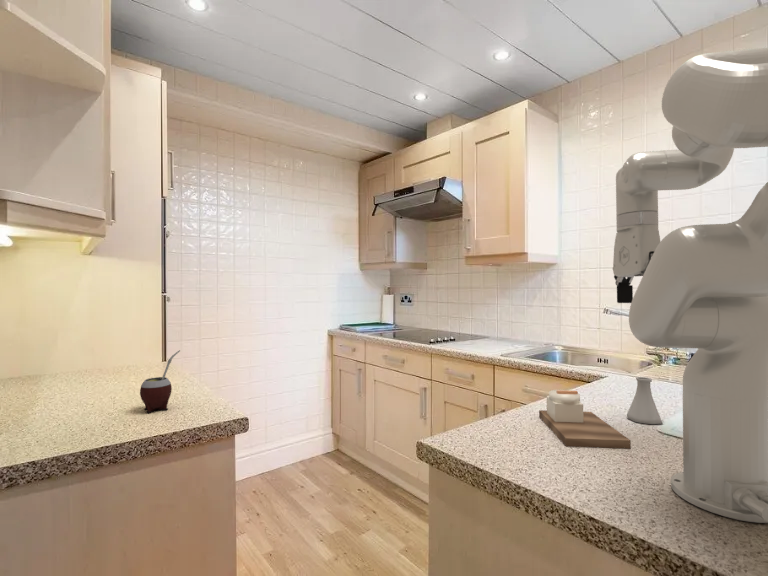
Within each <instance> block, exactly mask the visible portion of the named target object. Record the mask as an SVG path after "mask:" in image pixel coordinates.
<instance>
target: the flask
mask: <svg viewBox="0 0 768 576" xmlns="http://www.w3.org/2000/svg"><path fill="white" fill-rule="evenodd" d="M635 380H636V384H637V386H636V390H635V395H634V396H633V398H632V401H631V404H630V406H629V409H628V411H627V413H626V418H627V419H628V420H630V421H633V422H635V423H639V424H640V423H641V424H647V425H648V424H649V425H660V424H661V425H663V424H664V422H663V421H662V418H661V416H660V414H659V410H658V408H657V405H656V403H655V400H654V397H653V393H652V388H651V383H652V378H650V377H646V376H636V377H635Z"/></svg>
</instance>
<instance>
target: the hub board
mask: <svg viewBox="0 0 768 576" xmlns="http://www.w3.org/2000/svg"><path fill="white" fill-rule="evenodd" d="M538 416H539V418H540V420H542V422H543V421H544V424H545V425H546V426H547V427H548V429H549V430H551V432H553V433H554V435H555V436H556V437H557V438H558V439H559V440H560V441H561V442H562V443H563V445H564V446H565V447H571V448H572V447H573V448H597V447H599V448H603V449H605V448H606V449H631V448H632V447H631V446H632V445H631V443H632V442H631V440H630V439H629V438H628V437H626V436H625V435H624V434H622V433H621V432H620V431H618V430H617V429H615V428H614V427H612V426H611V425H610V424H608V423H607V422H606V421H605V420H603V419H601V418H600V417H599V416H597V415H596V414H594V413H593V412H592V411H583V423H581V422H555V421H554V420H553V419H552V418H551V417H550V416H549V415H548V414H547V410H546V409H545V410H541V409H540V410H539V411H538Z"/></svg>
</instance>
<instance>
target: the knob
mask: <svg viewBox="0 0 768 576" xmlns="http://www.w3.org/2000/svg"><path fill="white" fill-rule="evenodd" d="M546 411H547V414H548V415H549V416H550V417H551V418H552V419H553V420H554V421H555V422H581V423H583V412H584V404H583V403H582V402H581V394H580V393H579V392H578V391H577V390H567V389H552V390H551V389H550V390H549V391H548V395H546Z"/></svg>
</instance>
